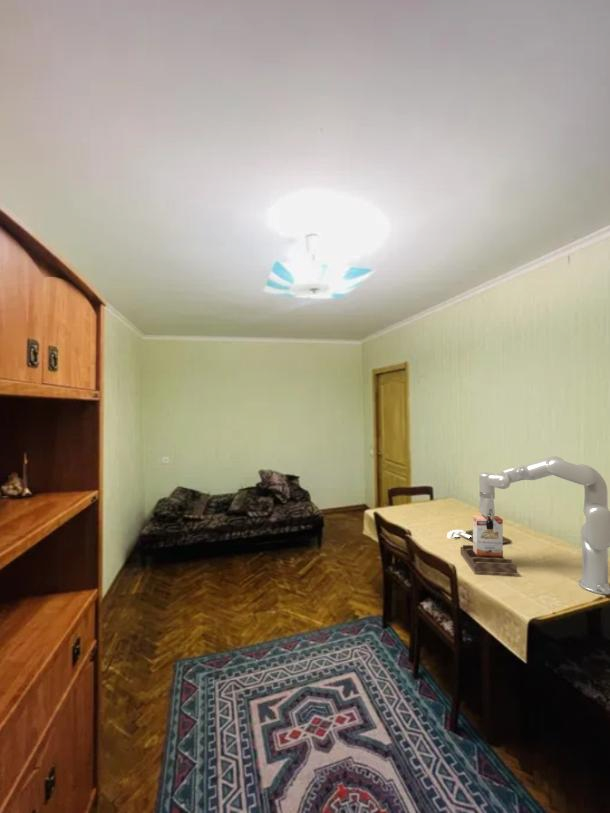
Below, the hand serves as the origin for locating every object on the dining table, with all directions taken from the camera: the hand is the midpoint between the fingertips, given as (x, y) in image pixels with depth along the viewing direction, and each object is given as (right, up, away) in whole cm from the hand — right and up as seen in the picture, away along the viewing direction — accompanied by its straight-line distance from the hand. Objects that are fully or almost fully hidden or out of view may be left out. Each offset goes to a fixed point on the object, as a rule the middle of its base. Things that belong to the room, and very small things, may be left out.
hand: (487, 526), depth 188 cm
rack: (0, -22, 0) cm, 22 cm away
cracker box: (0, -16, 0) cm, 16 cm away
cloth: (+3, -22, +41) cm, 47 cm away
